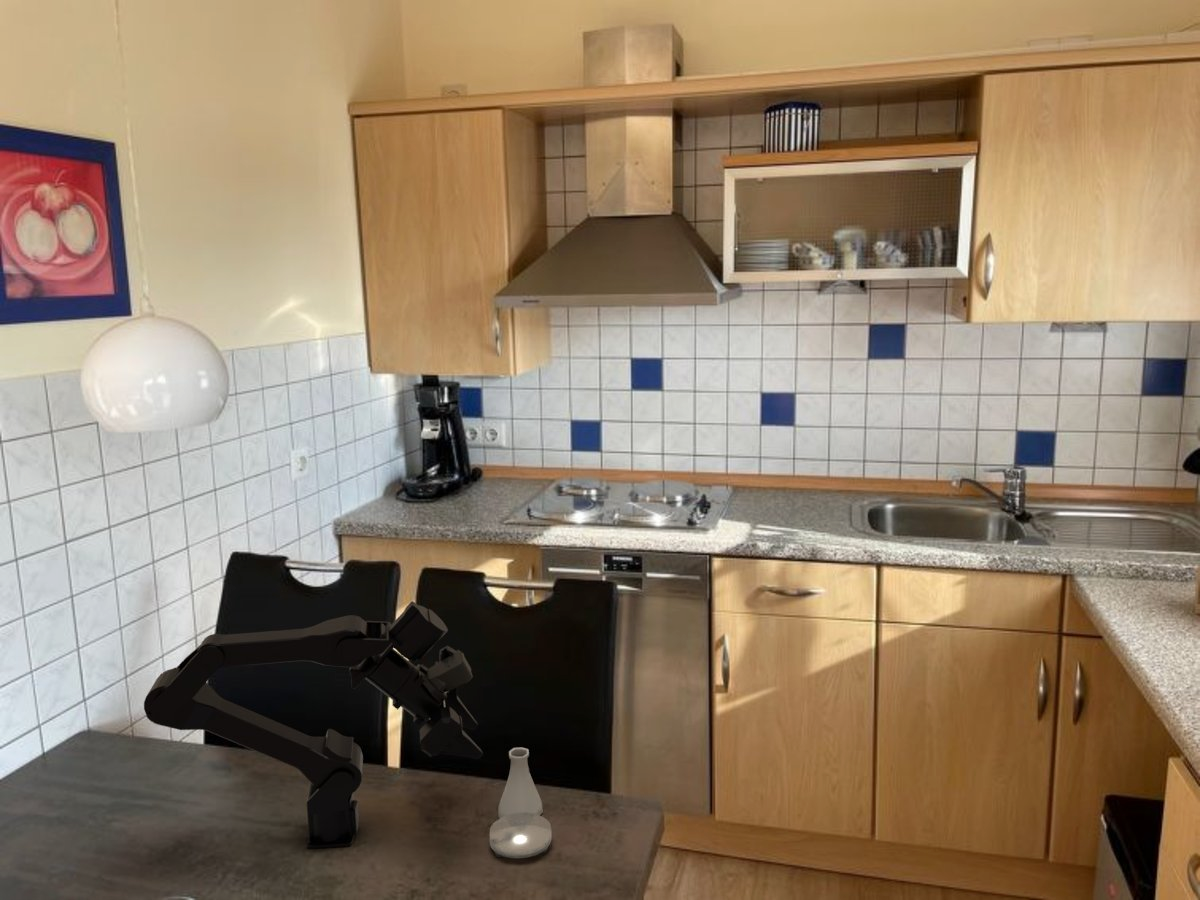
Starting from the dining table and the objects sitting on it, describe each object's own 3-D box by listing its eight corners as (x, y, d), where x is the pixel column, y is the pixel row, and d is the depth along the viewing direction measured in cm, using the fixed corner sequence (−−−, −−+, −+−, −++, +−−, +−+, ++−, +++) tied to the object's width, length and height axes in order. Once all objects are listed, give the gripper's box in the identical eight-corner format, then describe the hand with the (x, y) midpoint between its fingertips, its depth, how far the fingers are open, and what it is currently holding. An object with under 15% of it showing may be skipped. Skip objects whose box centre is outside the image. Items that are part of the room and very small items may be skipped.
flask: (536, 827, 139) (535, 766, 137) (491, 822, 140) (489, 761, 139) (548, 801, 146) (547, 742, 144) (505, 796, 147) (503, 738, 146)
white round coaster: (489, 866, 130) (488, 850, 129) (490, 829, 138) (490, 814, 138) (552, 862, 130) (552, 846, 130) (550, 825, 139) (550, 810, 139)
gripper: (441, 665, 127) (522, 730, 131) (435, 618, 145) (507, 677, 149) (385, 724, 126) (469, 788, 131) (386, 670, 144) (460, 727, 149)
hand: (478, 741), depth 140 cm, fingers open, 9 cm apart
